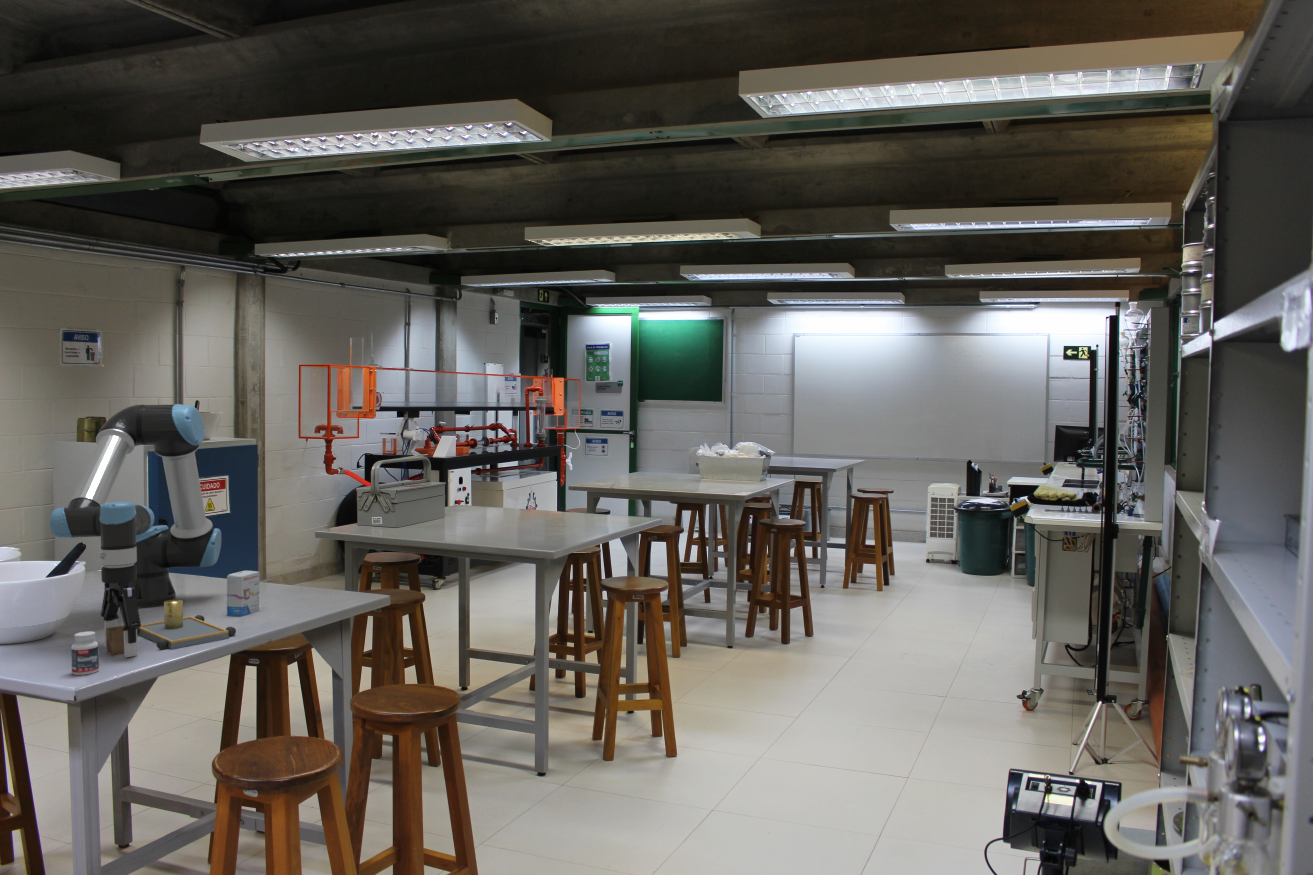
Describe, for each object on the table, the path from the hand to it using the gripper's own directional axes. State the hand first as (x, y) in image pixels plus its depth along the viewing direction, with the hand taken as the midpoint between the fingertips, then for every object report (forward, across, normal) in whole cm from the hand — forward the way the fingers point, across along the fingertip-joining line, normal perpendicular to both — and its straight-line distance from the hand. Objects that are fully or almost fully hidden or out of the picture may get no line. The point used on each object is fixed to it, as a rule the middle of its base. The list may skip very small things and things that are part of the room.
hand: (121, 651), depth 224 cm
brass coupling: (-1, -10, +16) cm, 19 cm away
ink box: (0, -19, +38) cm, 43 cm away
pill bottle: (0, +12, -11) cm, 17 cm away
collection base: (0, -5, +16) cm, 17 cm away
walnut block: (0, 0, 0) cm, 0 cm away
